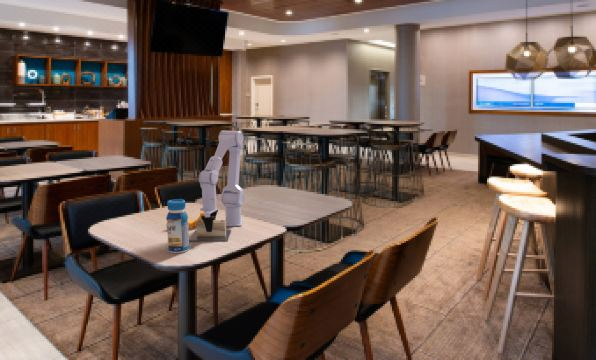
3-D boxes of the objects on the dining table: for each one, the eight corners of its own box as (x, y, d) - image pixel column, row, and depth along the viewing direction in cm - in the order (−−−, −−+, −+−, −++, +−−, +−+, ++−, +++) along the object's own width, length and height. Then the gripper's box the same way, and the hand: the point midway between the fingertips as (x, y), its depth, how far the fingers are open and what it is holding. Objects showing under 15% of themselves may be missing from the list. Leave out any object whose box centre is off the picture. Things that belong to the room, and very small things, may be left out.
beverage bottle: (193, 251, 175) (190, 201, 171) (172, 255, 170) (169, 204, 166) (185, 245, 181) (182, 197, 178) (164, 249, 177) (161, 200, 173)
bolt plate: (195, 231, 199) (195, 230, 199) (231, 231, 200) (231, 229, 200) (189, 241, 185) (189, 240, 185) (227, 241, 186) (227, 239, 186)
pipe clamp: (178, 229, 204) (177, 215, 203) (179, 226, 208) (178, 213, 207) (204, 227, 206) (204, 214, 205) (205, 225, 210) (204, 211, 209)
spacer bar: (198, 233, 194) (197, 219, 193) (226, 233, 195) (225, 219, 194) (196, 236, 190) (196, 222, 189) (225, 235, 191) (224, 221, 190)
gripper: (202, 194, 196) (203, 224, 199) (196, 202, 182) (198, 234, 185) (218, 194, 197) (219, 224, 199) (214, 202, 183) (215, 234, 185)
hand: (210, 229), depth 192 cm, fingers open, 7 cm apart
